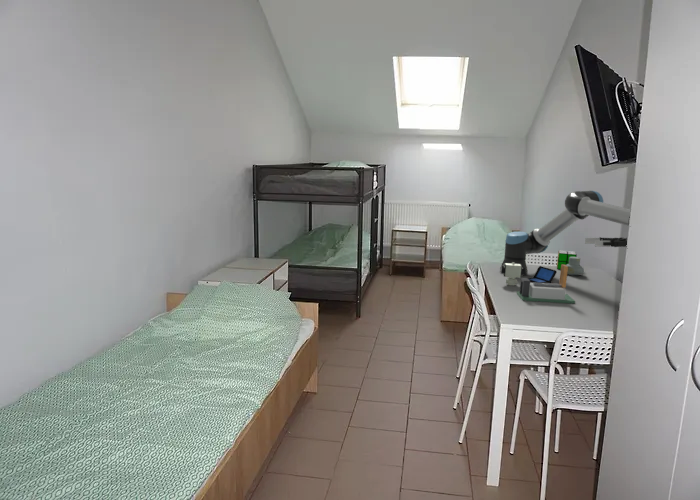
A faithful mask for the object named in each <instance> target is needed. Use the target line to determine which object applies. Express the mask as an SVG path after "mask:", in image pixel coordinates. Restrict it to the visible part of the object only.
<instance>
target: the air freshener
mask: <svg viewBox="0 0 700 500" xmlns="http://www.w3.org/2000/svg"><path fill="white" fill-rule="evenodd" d="M580 264H581V258H580V257H578V256H577V257H569V264H567V265H566V266H568V271H567V276H575V277H576V276H581V275H582V274H583V273H584V271H585V270H584V267H583V266H582V265H580Z"/></svg>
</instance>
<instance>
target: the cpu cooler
mask: <svg viewBox="0 0 700 500" xmlns="http://www.w3.org/2000/svg"><path fill="white" fill-rule="evenodd" d="M528 278H529V277H522V278H520V284H519V291H516V295H517V296H518V297H519V298H520V300H521V299H522V300H526V302H538V301H540V302H542V303H543V302H544V303H559V304H561V303H562V304H576V300H575V299H573V298H572V296H570V295H569V294H567V289H566V288H563V287H554V286H535V285H533V283H532V282H530V280H529V279H528ZM522 300H521V301H522Z"/></svg>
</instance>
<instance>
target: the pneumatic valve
mask: <svg viewBox="0 0 700 500" xmlns="http://www.w3.org/2000/svg"><path fill="white" fill-rule="evenodd" d="M500 267H501V270H500V269H499V273H500V274H501V275H502V276H503V277H504V278H505V277H506V279H505V283H506V285H508V286H510V287H511V286H512V287H513V286H516V285H517V284H518V280H517V279H516V278H519V279H521V278H523V276H522V275H524V274H525V267H523V266H522V264H514V263H513V262H512V264H510V263H504V265H502V264H501V265H500Z"/></svg>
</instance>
